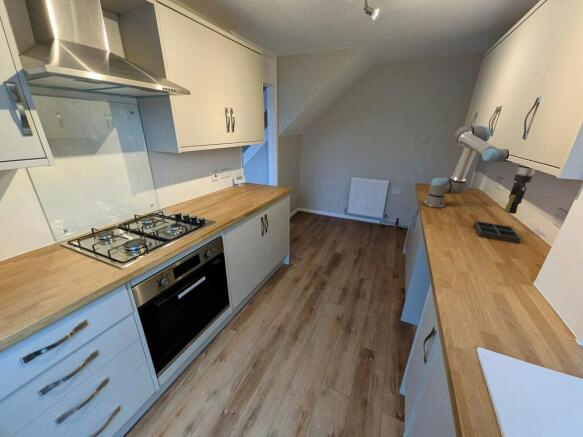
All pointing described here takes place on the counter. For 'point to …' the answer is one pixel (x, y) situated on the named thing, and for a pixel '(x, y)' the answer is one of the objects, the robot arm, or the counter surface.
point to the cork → (510, 204)
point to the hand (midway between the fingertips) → (510, 211)
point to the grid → (496, 232)
